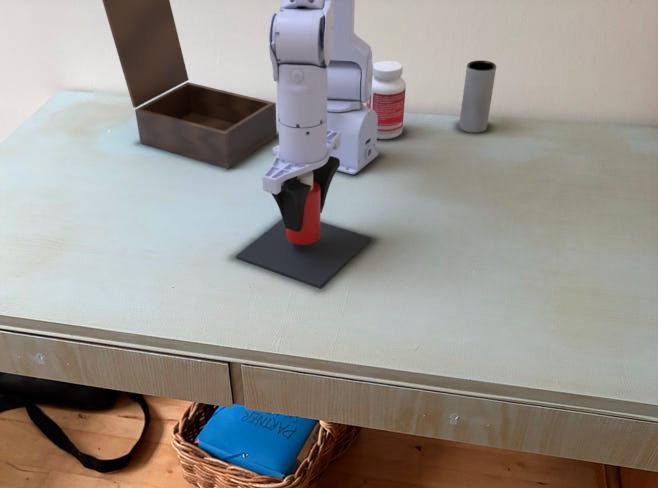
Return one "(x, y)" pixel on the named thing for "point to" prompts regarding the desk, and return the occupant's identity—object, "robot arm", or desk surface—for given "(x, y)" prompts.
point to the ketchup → (308, 214)
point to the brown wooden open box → (207, 124)
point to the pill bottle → (388, 98)
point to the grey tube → (477, 96)
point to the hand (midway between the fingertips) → (303, 220)
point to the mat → (305, 253)
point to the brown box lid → (146, 46)
